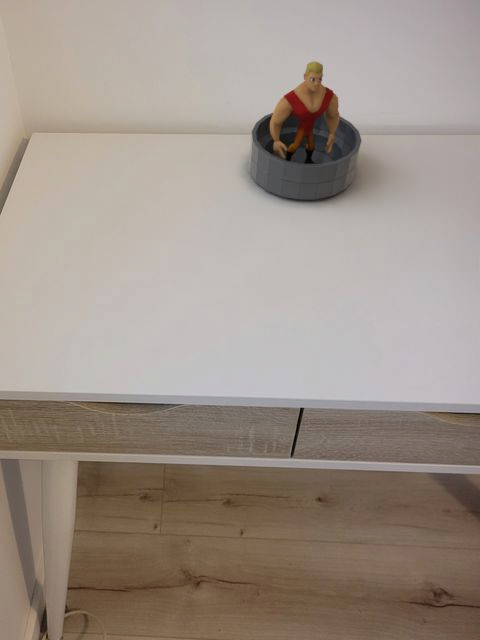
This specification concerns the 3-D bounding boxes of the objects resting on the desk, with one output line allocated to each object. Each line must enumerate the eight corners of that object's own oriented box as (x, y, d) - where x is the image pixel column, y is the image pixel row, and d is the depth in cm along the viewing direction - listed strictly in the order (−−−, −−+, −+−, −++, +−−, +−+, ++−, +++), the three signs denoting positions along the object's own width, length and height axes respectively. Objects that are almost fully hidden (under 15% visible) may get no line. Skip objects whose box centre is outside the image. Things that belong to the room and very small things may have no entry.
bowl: (282, 133, 91) (287, 97, 87) (370, 165, 85) (379, 129, 81) (229, 178, 84) (231, 142, 80) (320, 216, 78) (327, 179, 74)
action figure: (270, 181, 83) (283, 71, 71) (262, 166, 85) (274, 57, 73) (336, 172, 84) (360, 62, 72) (327, 157, 86) (348, 49, 74)
